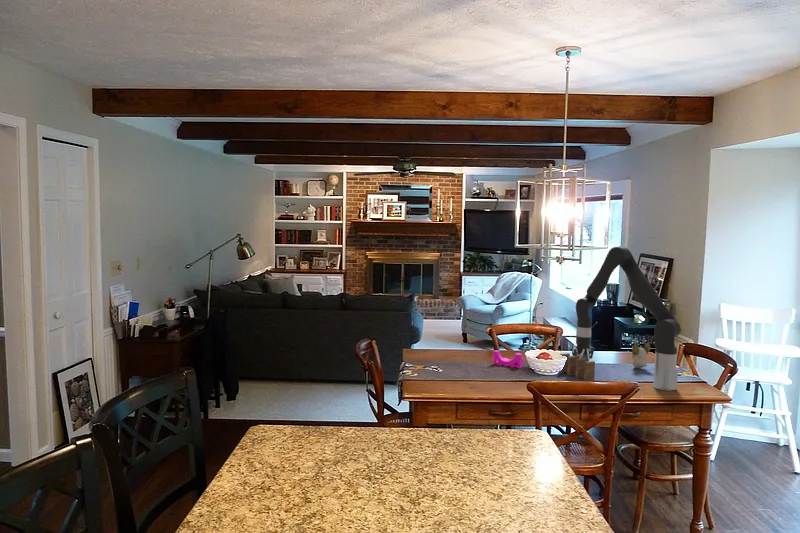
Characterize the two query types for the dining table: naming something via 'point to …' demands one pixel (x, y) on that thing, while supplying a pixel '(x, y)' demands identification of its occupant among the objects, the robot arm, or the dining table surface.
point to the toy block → (508, 360)
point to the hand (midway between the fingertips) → (582, 366)
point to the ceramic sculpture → (640, 355)
